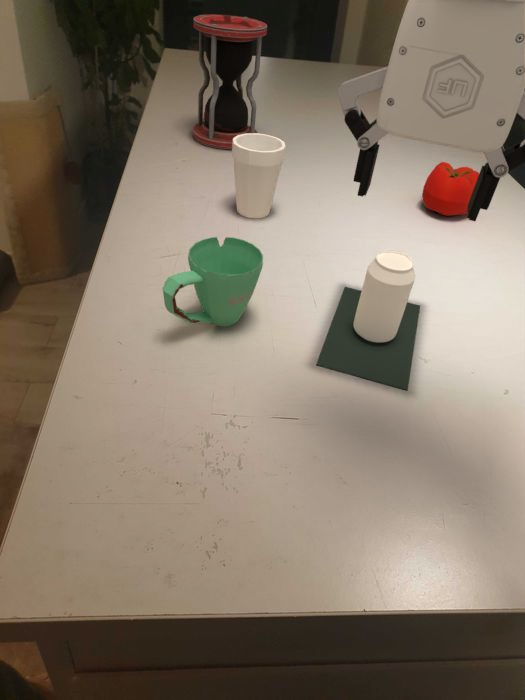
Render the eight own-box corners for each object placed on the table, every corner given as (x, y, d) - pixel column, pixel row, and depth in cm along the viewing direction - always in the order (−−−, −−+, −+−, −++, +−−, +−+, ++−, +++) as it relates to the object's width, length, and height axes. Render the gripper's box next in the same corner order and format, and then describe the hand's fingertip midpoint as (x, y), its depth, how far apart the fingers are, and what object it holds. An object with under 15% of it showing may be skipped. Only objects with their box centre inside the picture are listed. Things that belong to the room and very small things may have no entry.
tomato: (412, 213, 107) (425, 170, 101) (426, 193, 116) (439, 152, 110) (464, 229, 104) (480, 185, 98) (475, 207, 112) (491, 166, 107)
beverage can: (344, 322, 76) (362, 249, 69) (382, 317, 78) (404, 245, 70) (363, 349, 72) (385, 275, 64) (403, 343, 74) (428, 270, 66)
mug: (225, 288, 80) (229, 229, 74) (271, 319, 75) (279, 259, 69) (145, 324, 72) (141, 261, 65) (190, 362, 67) (190, 298, 60)
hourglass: (268, 136, 134) (279, 23, 118) (239, 155, 122) (247, 32, 106) (212, 122, 138) (216, 11, 122) (179, 139, 127) (178, 18, 111)
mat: (407, 390, 67) (407, 389, 67) (316, 365, 69) (316, 364, 69) (419, 306, 82) (420, 305, 82) (344, 287, 84) (344, 286, 84)
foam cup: (279, 204, 105) (288, 137, 96) (274, 225, 98) (283, 155, 89) (232, 197, 105) (236, 130, 97) (224, 217, 98) (228, 147, 90)
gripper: (354, -48, 35) (313, 197, 46) (635, -9, 32) (518, 243, 43) (371, -51, 40) (331, 168, 51) (611, -19, 37) (513, 207, 48)
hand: (416, 202), depth 47 cm, fingers open, 9 cm apart
